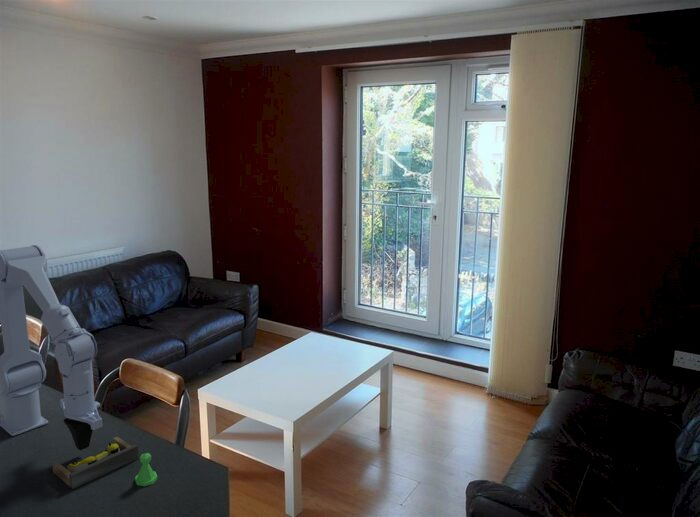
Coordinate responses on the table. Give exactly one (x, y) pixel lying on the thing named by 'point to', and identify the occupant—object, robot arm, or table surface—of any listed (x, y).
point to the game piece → (145, 472)
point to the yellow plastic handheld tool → (93, 458)
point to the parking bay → (98, 465)
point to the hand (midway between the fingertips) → (83, 447)
